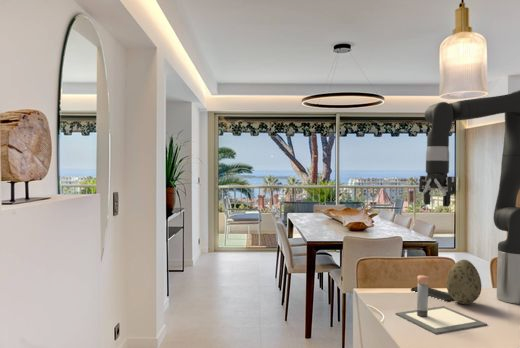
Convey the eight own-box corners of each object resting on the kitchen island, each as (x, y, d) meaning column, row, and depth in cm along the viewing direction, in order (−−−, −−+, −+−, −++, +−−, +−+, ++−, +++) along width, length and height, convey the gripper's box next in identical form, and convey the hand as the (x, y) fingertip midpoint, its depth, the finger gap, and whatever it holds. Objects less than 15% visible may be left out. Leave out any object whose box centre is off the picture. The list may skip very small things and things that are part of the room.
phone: (422, 285, 154) (459, 296, 141) (422, 288, 154) (459, 299, 141) (409, 288, 150) (446, 299, 137) (409, 291, 150) (446, 303, 137)
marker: (422, 313, 124) (423, 274, 123) (430, 316, 121) (431, 277, 120) (414, 314, 122) (415, 275, 122) (422, 318, 119) (423, 278, 119)
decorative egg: (488, 307, 132) (489, 262, 132) (460, 309, 130) (461, 263, 130) (465, 297, 142) (466, 256, 142) (439, 299, 140) (440, 256, 140)
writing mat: (443, 307, 131) (443, 305, 131) (487, 325, 117) (487, 323, 117) (395, 314, 124) (395, 312, 124) (435, 334, 109) (435, 332, 109)
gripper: (462, 159, 135) (461, 207, 135) (430, 160, 148) (428, 203, 148) (445, 159, 132) (444, 207, 132) (414, 159, 145) (413, 204, 145)
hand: (436, 205), depth 140 cm, fingers open, 8 cm apart
